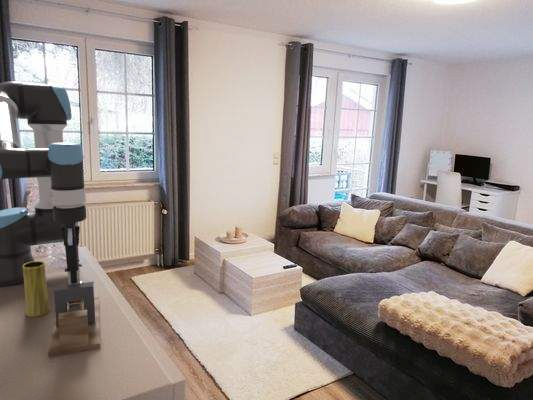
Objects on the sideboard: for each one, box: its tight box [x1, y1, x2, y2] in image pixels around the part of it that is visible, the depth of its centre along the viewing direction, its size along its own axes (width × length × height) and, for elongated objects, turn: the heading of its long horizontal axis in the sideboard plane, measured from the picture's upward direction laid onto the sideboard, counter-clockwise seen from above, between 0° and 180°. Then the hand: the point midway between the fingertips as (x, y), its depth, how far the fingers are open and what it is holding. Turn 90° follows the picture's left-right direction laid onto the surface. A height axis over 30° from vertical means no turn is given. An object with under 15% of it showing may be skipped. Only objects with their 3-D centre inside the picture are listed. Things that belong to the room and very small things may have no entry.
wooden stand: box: [47, 296, 101, 358], centre depth 105 cm, size 27×11×9 cm, turn 23°
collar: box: [53, 281, 95, 328], centre depth 102 cm, size 3×9×10 cm, turn 113°
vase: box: [22, 260, 51, 318], centre depth 111 cm, size 6×6×14 cm
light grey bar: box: [68, 280, 83, 312], centre depth 105 cm, size 22×3×3 cm, turn 23°
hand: (75, 292), depth 104 cm, fingers closed
